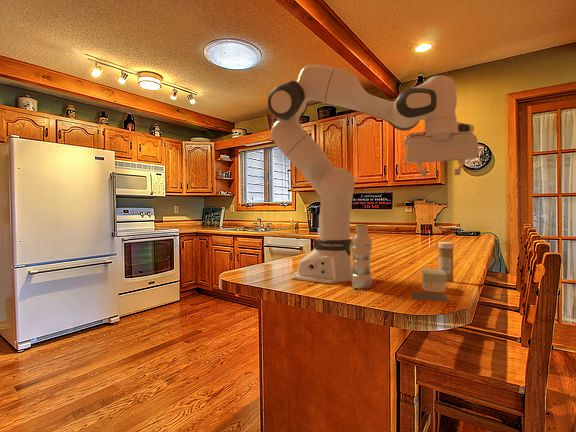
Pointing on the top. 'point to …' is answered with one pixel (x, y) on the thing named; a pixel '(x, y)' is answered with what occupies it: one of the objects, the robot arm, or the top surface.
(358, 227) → the plastic bottle
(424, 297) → the mat
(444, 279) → the cover
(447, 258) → the sprinkles bottle
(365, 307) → the top surface
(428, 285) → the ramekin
